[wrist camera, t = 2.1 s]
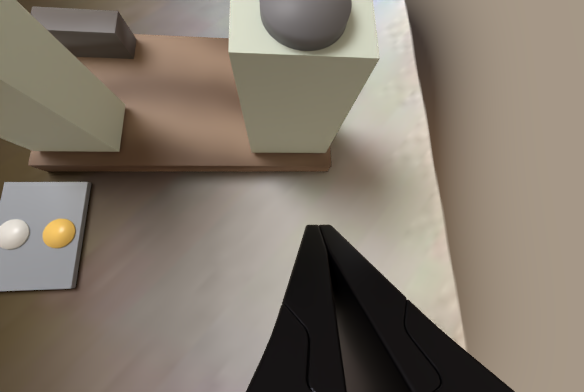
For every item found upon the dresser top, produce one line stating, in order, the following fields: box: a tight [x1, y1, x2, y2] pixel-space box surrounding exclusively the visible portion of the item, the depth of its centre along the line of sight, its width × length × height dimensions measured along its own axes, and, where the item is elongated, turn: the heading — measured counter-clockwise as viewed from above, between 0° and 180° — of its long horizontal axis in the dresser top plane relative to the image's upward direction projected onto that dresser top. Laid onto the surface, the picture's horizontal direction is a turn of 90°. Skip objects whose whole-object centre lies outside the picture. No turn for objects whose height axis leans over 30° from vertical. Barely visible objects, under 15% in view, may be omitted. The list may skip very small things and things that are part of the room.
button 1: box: [228, 0, 380, 153], centre depth 14 cm, size 4×6×11 cm, turn 92°
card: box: [0, 182, 91, 291], centre depth 18 cm, size 8×6×1 cm
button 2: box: [0, 0, 125, 152], centre depth 13 cm, size 4×6×11 cm, turn 92°
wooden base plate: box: [28, 7, 331, 171], centre depth 19 cm, size 12×23×4 cm, turn 92°
